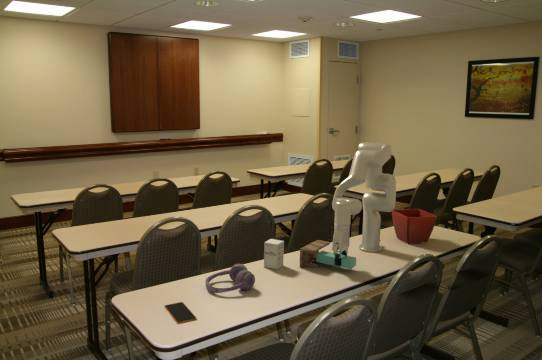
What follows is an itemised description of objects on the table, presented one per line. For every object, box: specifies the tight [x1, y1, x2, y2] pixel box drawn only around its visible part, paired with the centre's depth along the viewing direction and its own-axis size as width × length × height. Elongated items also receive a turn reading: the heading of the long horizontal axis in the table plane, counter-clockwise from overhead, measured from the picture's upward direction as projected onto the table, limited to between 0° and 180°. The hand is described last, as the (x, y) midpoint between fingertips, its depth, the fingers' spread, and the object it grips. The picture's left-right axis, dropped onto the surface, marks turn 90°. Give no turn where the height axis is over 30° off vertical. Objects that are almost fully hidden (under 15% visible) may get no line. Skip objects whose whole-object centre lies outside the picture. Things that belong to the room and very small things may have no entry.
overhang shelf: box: [299, 239, 331, 269], centre depth 229 cm, size 18×7×10 cm, turn 147°
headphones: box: [204, 263, 256, 294], centre depth 198 cm, size 18×8×20 cm
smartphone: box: [163, 301, 198, 325], centre depth 173 cm, size 8×17×1 cm, turn 29°
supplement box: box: [263, 238, 285, 270], centre depth 224 cm, size 7×7×13 cm
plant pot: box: [391, 208, 438, 245], centre depth 271 cm, size 19×19×17 cm
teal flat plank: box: [315, 250, 357, 270], centre depth 223 cm, size 6×18×4 cm, turn 57°
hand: (340, 263), depth 222 cm, fingers closed on teal flat plank, 6 cm apart
